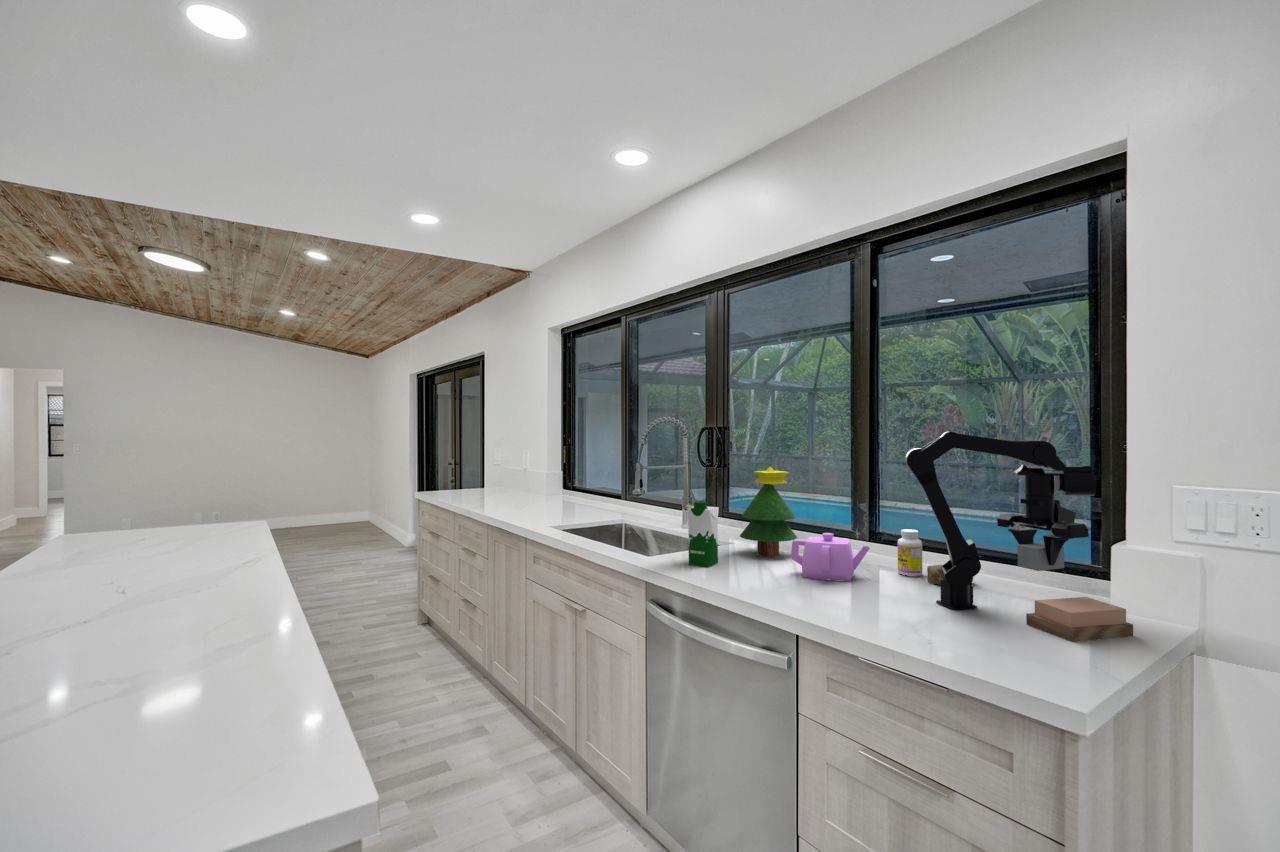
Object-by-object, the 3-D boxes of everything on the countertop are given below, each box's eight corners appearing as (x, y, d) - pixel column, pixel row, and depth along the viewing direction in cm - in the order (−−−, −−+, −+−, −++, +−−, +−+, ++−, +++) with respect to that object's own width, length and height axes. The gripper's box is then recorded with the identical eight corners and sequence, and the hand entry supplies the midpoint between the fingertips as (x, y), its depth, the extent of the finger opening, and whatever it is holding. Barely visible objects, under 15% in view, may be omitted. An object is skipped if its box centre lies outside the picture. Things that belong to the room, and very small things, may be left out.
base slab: (1073, 645, 119) (1072, 630, 119) (1026, 627, 130) (1026, 613, 130) (1133, 639, 122) (1133, 624, 122) (1083, 622, 133) (1082, 608, 133)
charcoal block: (1038, 571, 134) (1037, 548, 134) (1017, 566, 139) (1017, 544, 139) (1064, 568, 136) (1063, 546, 136) (1043, 563, 141) (1043, 542, 141)
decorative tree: (730, 551, 210) (729, 465, 211) (778, 547, 216) (777, 464, 216) (756, 562, 192) (756, 469, 192) (808, 558, 198) (808, 467, 198)
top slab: (1071, 627, 120) (1071, 612, 120) (1034, 614, 129) (1034, 600, 129) (1126, 623, 123) (1125, 608, 123) (1086, 610, 132) (1086, 596, 132)
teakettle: (786, 572, 179) (786, 531, 179) (831, 566, 186) (830, 526, 186) (825, 585, 163) (825, 540, 163) (872, 579, 170) (872, 535, 170)
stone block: (975, 584, 164) (975, 566, 164) (939, 588, 161) (939, 569, 161) (959, 579, 169) (959, 562, 169) (924, 582, 167) (924, 564, 167)
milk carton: (684, 565, 189) (684, 501, 189) (697, 559, 197) (697, 498, 197) (709, 568, 184) (709, 503, 184) (722, 562, 192) (721, 500, 192)
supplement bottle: (893, 571, 178) (892, 528, 178) (914, 571, 179) (914, 528, 179) (905, 577, 172) (904, 532, 172) (927, 576, 172) (926, 532, 172)
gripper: (1107, 497, 131) (1108, 569, 131) (1030, 489, 149) (1032, 552, 149) (1067, 499, 128) (1069, 572, 128) (994, 491, 146) (996, 555, 146)
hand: (1040, 562), depth 138 cm, fingers closed on charcoal block, 5 cm apart
